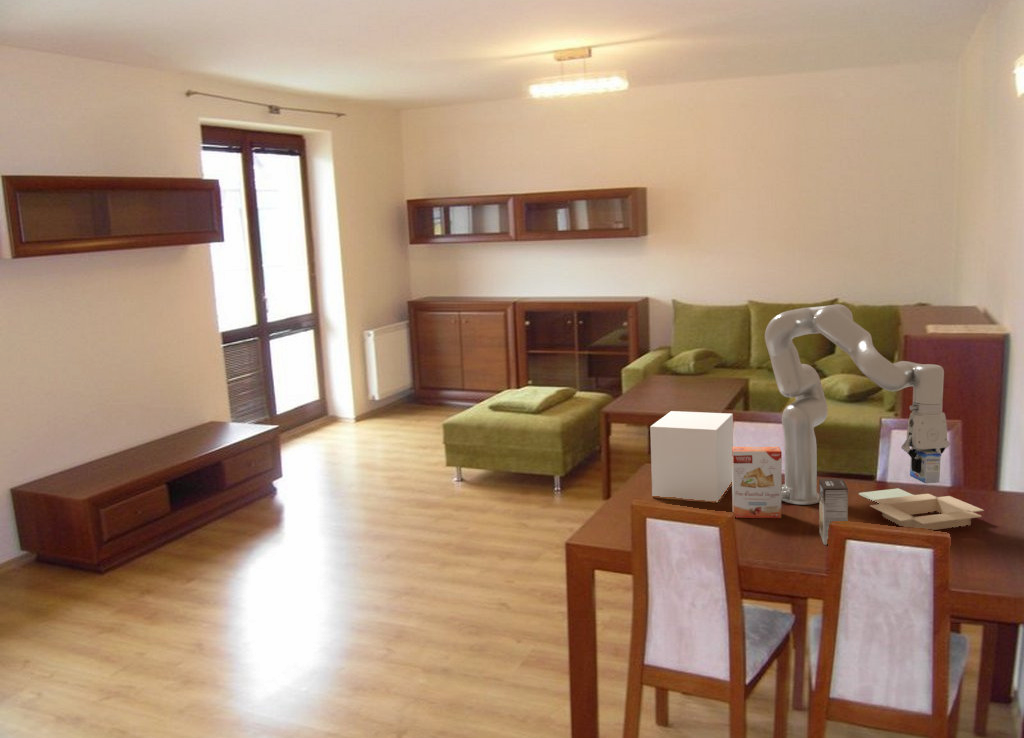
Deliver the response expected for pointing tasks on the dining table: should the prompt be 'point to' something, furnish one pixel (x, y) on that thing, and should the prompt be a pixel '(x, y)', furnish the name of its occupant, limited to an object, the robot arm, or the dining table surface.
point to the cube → (692, 455)
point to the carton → (949, 507)
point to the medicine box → (928, 467)
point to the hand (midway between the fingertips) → (924, 470)
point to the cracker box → (756, 482)
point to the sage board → (884, 494)
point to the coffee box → (831, 504)
